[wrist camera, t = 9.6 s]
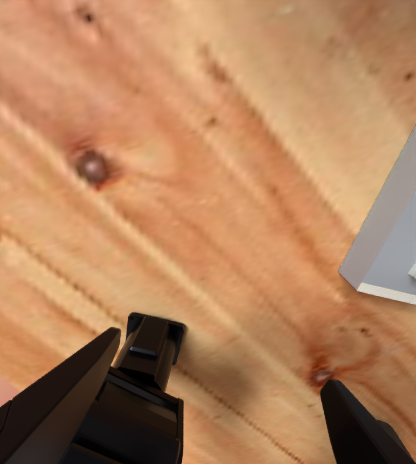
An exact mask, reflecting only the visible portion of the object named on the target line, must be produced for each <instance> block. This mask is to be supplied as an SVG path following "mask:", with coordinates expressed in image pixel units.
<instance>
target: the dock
mask: <svg viewBox="0 0 416 464" xmlns="http://www.w3.org/2000/svg"><path fill="white" fill-rule="evenodd" d="M415 263H416V125H415V127H414V129H413V131H412V133H411V135H410V137H409V138H408V140H407V142H406V144H405V146H404V148H403V150H402V152H401V154H400V155H399V157H398V159H397V161H396V163H395V165H394V167H393V169H392V171H391V172H390V174H389V176H388V178H387V180H386V182H385V184H384V186H383V187H382V189H381V191H380V193H379V195H378V197H377V199H376V201H375V203H374V204H373V206H372V208H371V210H370V212H369V214H368V216H367V218H366V220H365V221H364V223H363V225H362V227H361V229H360V231H359V233H358V235H357V237H356V238H355V240H354V242H353V244H352V246H351V248H350V250H349V252H348V253H347V255H346V257H345V259H344V261H343V263H342V265H341V267H340V269H339V270H338V272H339V273H340V274H341V275H342V276H343V277H344V278H345V279H346V280H347V281H348V282H349V283H350V284H351V285H352V286H353V287H354V288H355V289H356V290H357V291H359V292H364V293H368V294H372V295H376V296H381V297H385V298H389V299H393V300H398V301H402V302H406V303H410V304H415V305H416V279H415V278H414V277H413V276H411V275H410V274H408V273H409V272H410V270H411V269H412V267H413V266H414V264H415Z"/></svg>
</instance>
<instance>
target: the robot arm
mask: <svg viewBox="0 0 416 464" xmlns="http://www.w3.org/2000/svg"><path fill="white" fill-rule="evenodd" d="M133 317H134V318H133ZM184 328H185V327H184V325H183V324H181V323H177V322H173V321H168V320H164V319H160V318H155V317H151V316H147V315H142V314H138V313H133V312H132V313H130V315H129V316H128V323H127V333H126V342H125V344H124V346H123V348H122V349H121V351H120V353H119V355H118V357H117V359H116V361H115V363H114V364H113V366H111V363H112V361H113V359H114V357H115V354H116V352H117V350H118V348H119V345H120V336H121V329H119V328H115V327H111V328H109V329H107V330H106V331H105V332H103V333H102V334H101V335H99V336H98V337H96V338H95V339H94V340H92V341H91V342H89V343H88V344H87V345H85V346H84V347H83V348H81V349H80V350H78V351H77V352H76V353H74V354H73V355H72V356H70V357H69V358H67V359H66V360H65V361H63V362H62V363H60V364H59V365H58V366H56V367H55V368H54V369H52V370H51V371H49V372H48V373H47V374H45V375H44V376H42V377H41V378H40V379H38V380H37V381H36V382H34V383H33V384H31V385H30V386H29V387H27V388H26V389H25V390H23V391H22V392H20V393H19V394H18V395H16V396H15V397H14V398H13V399H12V400H9V401H8V402H6V403H5V404H4V405H2V406H1V407H0V464H182V457H183V408H184V401H183V400H182V399H180V398H175V397H173V396H171V395H169V394H167V393H165V391H166V387H167V383H168V379H169V375H170V371H171V367H172V365H175V364H176V362H177V357H178V353H179V349H180V345H181V340H182V336H183V332H184ZM320 396H321V401H322V406H323V410H324V415H325V420H326V424H327V429H328V434H329V438H330V442H331V446H332V449H333V453H334V456H335V459H336V463H337V464H416V463H415V462H414V461H413V459H412V458H411V457H410V456H409V455H408V454H407V453H406V452H405V451H404V450H403V449H402V448H401V446H400V445H399V444H398V443H397V442H396V441H395V440H394V439H393V438H392V437H391V436H390V434H389V433H388V432H387V431H386V430H385V429H384V428H383V427H382V426H381V425H380V424H379V423H378V421H377V420H376V419H375V418H374V417H373V416H372V415H371V414H370V413H369V412H368V411H367V409H366V408H365V407H364V406H363V405H362V404H361V403H360V402H359V401H358V400H357V399H356V398H355V396H354V395H353V394H352V393H351V392H350V391H349V390H348V389H347V388H346V387H345V386H344V384H343V383H342V382H341V381H339V380H336V379H332V378H329V379H328V380H327V381H326V383H325V384H324V386H323V387H322V389H321V391H320Z"/></svg>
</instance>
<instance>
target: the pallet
mask: <svg viewBox="0 0 416 464" xmlns="http://www.w3.org/2000/svg"><path fill="white" fill-rule="evenodd" d="M408 274H410V275H411V276H413V277H414V278H415V279H416V263H415V264H414V266H413V267H412V269H411V270H410V272H409V273H408Z"/></svg>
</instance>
